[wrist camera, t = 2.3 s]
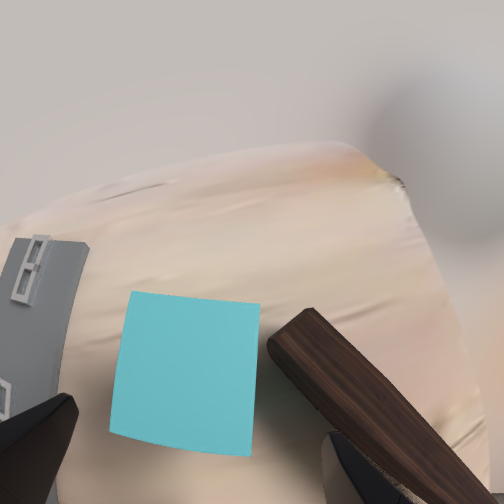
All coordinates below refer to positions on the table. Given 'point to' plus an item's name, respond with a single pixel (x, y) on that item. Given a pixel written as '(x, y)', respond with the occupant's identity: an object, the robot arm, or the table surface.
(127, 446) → the table surface
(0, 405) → the steel chain
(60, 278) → the rubber mat
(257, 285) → the table surface
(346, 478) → the robot arm
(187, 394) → the teal block
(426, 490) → the hammer
